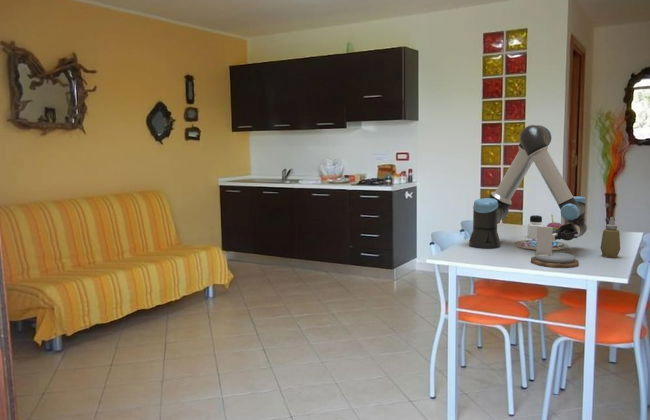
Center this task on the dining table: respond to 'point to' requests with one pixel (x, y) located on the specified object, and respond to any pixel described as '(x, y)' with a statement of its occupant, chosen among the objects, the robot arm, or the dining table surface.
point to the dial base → (554, 265)
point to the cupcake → (554, 225)
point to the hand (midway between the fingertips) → (550, 238)
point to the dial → (549, 248)
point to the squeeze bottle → (610, 240)
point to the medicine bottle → (534, 226)
